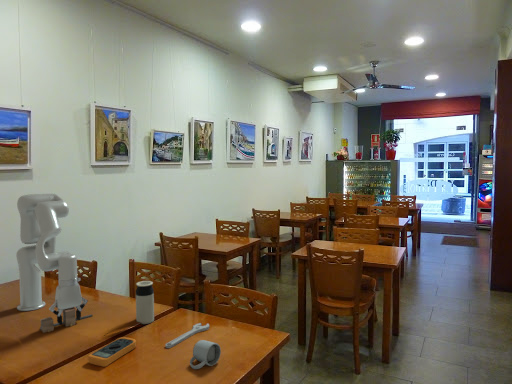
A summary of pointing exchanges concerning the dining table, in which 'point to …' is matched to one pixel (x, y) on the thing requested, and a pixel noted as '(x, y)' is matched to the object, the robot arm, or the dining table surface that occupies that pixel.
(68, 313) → the block
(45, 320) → the bar clamp
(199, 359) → the ceramic mug
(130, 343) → the multimeter
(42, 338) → the dining table surface
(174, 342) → the adjustable wrench
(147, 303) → the travel mug
